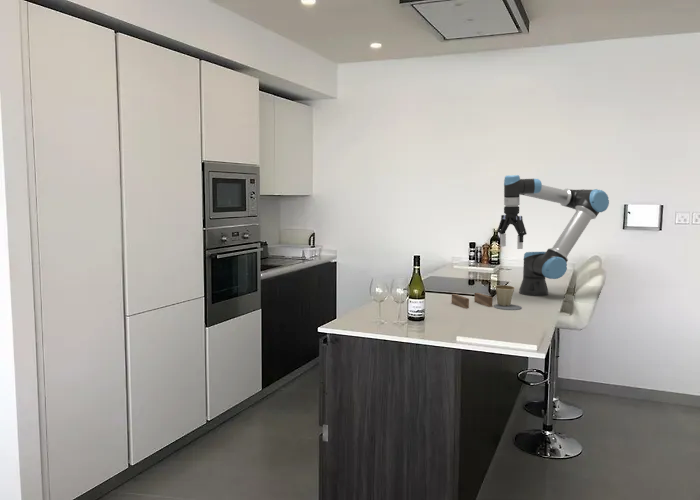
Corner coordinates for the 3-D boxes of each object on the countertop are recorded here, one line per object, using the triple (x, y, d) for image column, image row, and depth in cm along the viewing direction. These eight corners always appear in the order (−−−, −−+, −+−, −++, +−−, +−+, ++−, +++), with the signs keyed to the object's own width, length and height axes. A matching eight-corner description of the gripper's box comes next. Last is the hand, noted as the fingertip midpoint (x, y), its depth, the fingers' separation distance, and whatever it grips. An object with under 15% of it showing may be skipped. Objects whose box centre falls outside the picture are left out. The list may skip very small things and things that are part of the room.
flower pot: (514, 307, 283) (516, 289, 282) (494, 306, 284) (495, 288, 283) (512, 302, 292) (513, 285, 291) (493, 301, 294) (494, 284, 292)
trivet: (511, 304, 293) (511, 303, 293) (527, 309, 281) (527, 308, 280) (488, 305, 288) (488, 304, 288) (503, 310, 276) (503, 309, 276)
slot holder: (477, 301, 298) (478, 292, 298) (492, 306, 286) (492, 297, 286) (451, 303, 293) (451, 294, 293) (465, 308, 281) (465, 298, 281)
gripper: (490, 205, 310) (490, 245, 312) (521, 206, 287) (521, 250, 289) (502, 205, 313) (502, 245, 315) (534, 206, 290) (533, 249, 292)
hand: (511, 247), depth 302 cm, fingers open, 13 cm apart
